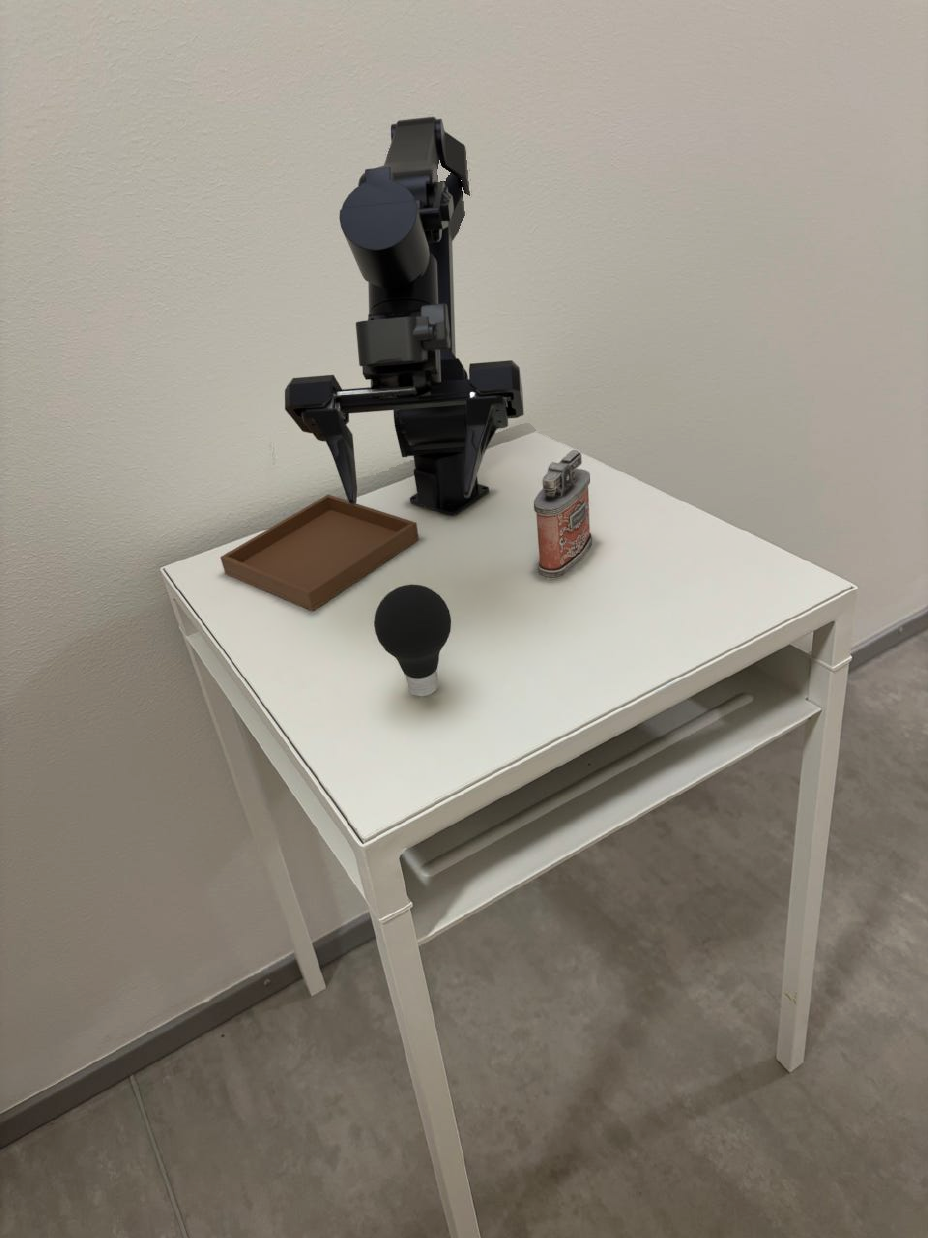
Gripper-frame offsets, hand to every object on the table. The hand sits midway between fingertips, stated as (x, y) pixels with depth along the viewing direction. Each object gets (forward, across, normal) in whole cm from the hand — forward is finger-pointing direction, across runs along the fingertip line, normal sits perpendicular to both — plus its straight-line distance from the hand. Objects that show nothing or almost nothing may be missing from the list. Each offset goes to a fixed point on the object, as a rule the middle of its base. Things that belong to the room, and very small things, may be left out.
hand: (409, 500), depth 75 cm
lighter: (+2, +12, +18) cm, 22 cm away
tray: (-1, -12, +20) cm, 23 cm away
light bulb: (+15, 0, +4) cm, 16 cm away
